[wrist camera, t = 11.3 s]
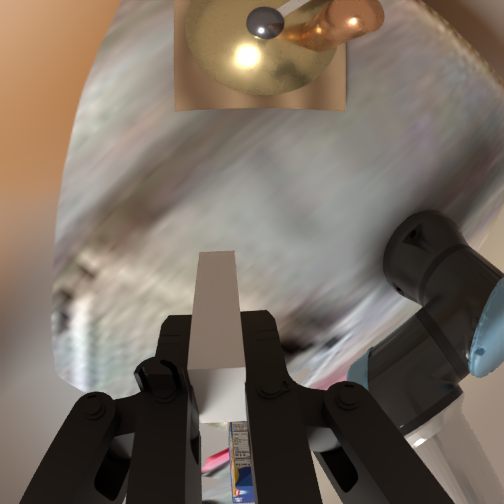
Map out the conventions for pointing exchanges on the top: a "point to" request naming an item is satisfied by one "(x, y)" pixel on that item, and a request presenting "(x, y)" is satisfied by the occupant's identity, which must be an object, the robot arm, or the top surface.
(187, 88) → the levelling stand
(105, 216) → the top surface
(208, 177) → the top surface
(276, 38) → the disc
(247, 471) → the beverage box
